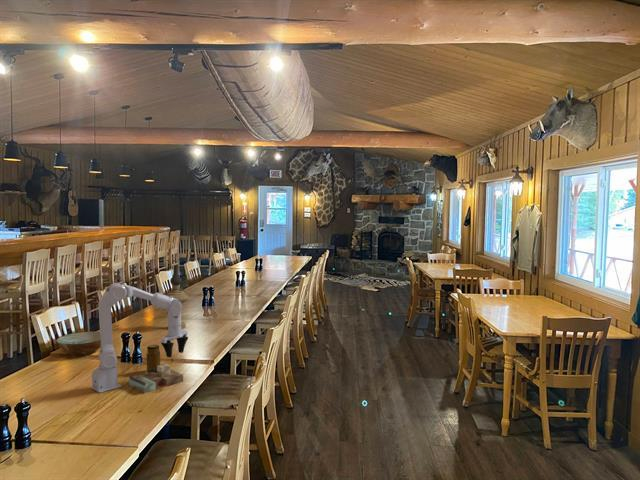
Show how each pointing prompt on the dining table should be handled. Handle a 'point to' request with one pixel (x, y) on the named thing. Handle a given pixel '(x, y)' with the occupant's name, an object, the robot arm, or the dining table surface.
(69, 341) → the bowl
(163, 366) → the block
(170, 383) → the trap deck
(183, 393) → the dining table surface
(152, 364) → the condiment
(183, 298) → the oil lamp
